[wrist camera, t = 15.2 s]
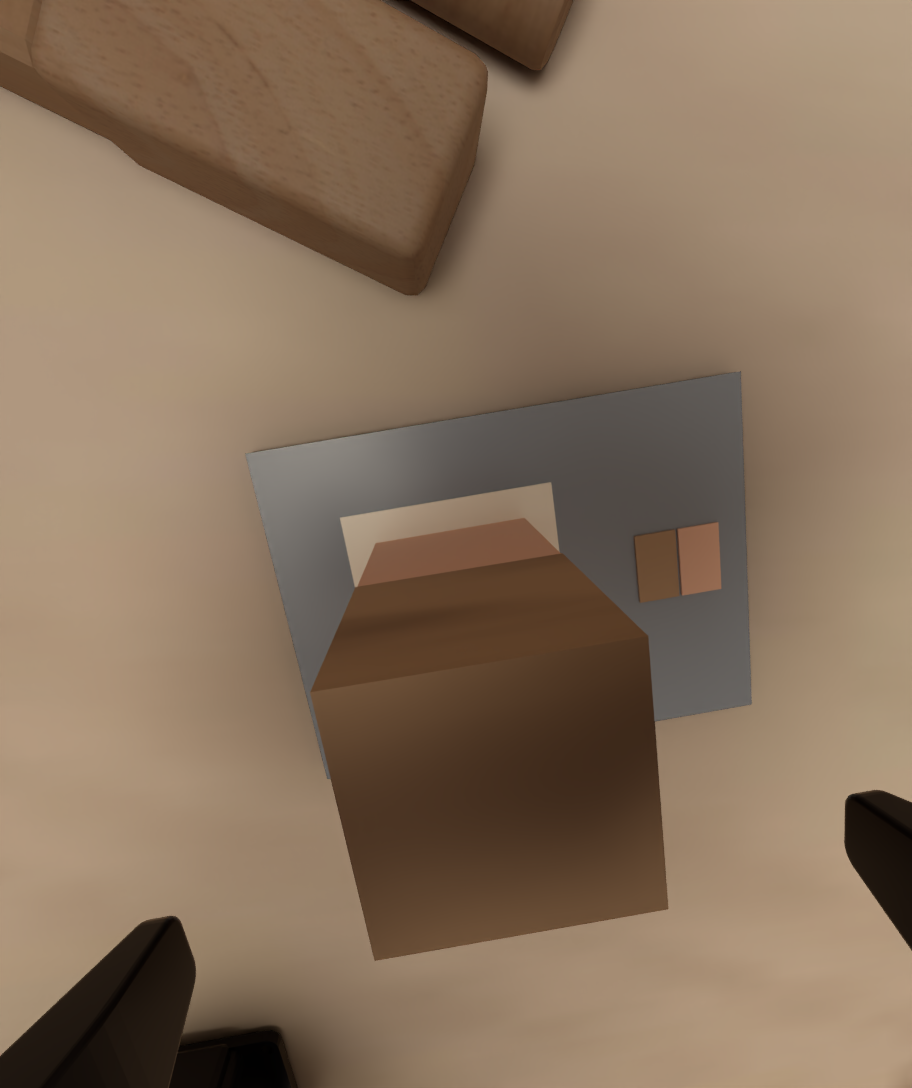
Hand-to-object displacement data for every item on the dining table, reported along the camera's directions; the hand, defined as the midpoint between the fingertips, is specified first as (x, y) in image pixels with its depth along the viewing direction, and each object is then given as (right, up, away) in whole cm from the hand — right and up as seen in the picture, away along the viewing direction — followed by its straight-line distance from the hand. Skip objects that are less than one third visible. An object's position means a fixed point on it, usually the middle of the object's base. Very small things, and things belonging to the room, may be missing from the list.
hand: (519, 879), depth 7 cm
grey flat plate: (+1, +3, +12) cm, 12 cm away
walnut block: (0, +1, +6) cm, 6 cm away
